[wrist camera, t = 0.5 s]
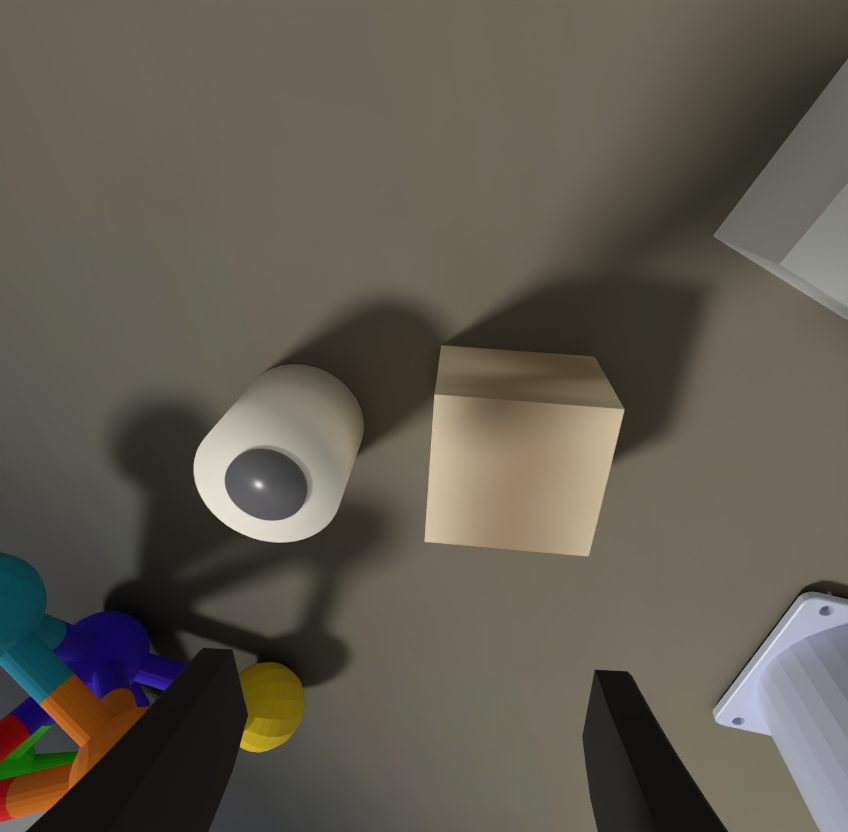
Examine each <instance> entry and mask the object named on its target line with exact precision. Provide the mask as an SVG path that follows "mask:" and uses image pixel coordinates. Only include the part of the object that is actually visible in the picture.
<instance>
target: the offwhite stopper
mask: <svg viewBox="0 0 848 832" xmlns="http://www.w3.org/2000/svg"><path fill="white" fill-rule="evenodd" d="M363 433H364V419H363V414H362V411H361V408H360V405H359V403H358V401H357V399H356V398H355V396H354V395H353V393H352V392H351V391H350V389H349V388H348V387H347V386H346V385H345V384H344V383H343V382H342V381H340V380H339V379H338V378H336V377H335V376H333V375H332V374H330V373H328V372H326V371H324V370H322V369H319V368H316V367H313V366H308V365H301V364H290V365H283V366H278V367H275V368H272V369H270V370H268V371H266V372H264V373H263V374H262V375H260V376H259V377H258V378H257V379H256V380H255V381H254V382H253V383H252V384H251V385H250V386H249V387H248V389H247V390H246V391H245V392H244V393H243V394H242V395H241V397H240V398H239V399H238V400H237V401H236V402H235V404H234V405H233V406H232V407H231V408H230V409H229V410H228V412H227V413H226V414H225V415H224V416H223V417H222V419H221V420H220V421H219V422H218V423H217V424H216V425H215V427H214V428H213V429H212V430H211V431H210V432H209V434H208V435H207V436H206V437H205V438H204V440H203V441H202V442H201V444H200V446H199V448H198V450H197V452H196V456H195V459H194V478H195V483H196V486H197V489H198V492H199V494H200V496H201V498H202V499H203V501H204V502H205V504H206V506H207V507H208V508H209V509H210V510H211V512H212V513H213V514H214V515H215V516H216V517H217V518H218V519H219V520H221V521H222V522H223V523H225V524H226V525H227V526H229V527H230V528H232V529H234V530H235V531H237V532H239V533H241V534H243V535H246V536H248V537H251V538H254V539H258V540H262V541H268V542H278V543H281V542H293V541H298V540H302V539H305V538H308V537H310V536H313V535H314V534H316V533H318V532H320V531H321V530H322V529H323V528H325V527H326V526H327V525H328V524H329V523H330V522H331V520H332V519H333V517H334V516H335V514H336V512H337V510H338V508H339V505H340V502H341V499H342V496H343V493H344V491H345V488H346V485H347V482H348V479H349V476H350V473H351V470H352V467H353V465H354V462H355V459H356V456H357V453H358V450H359V447H360V444H361V441H362V438H363Z"/></svg>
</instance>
